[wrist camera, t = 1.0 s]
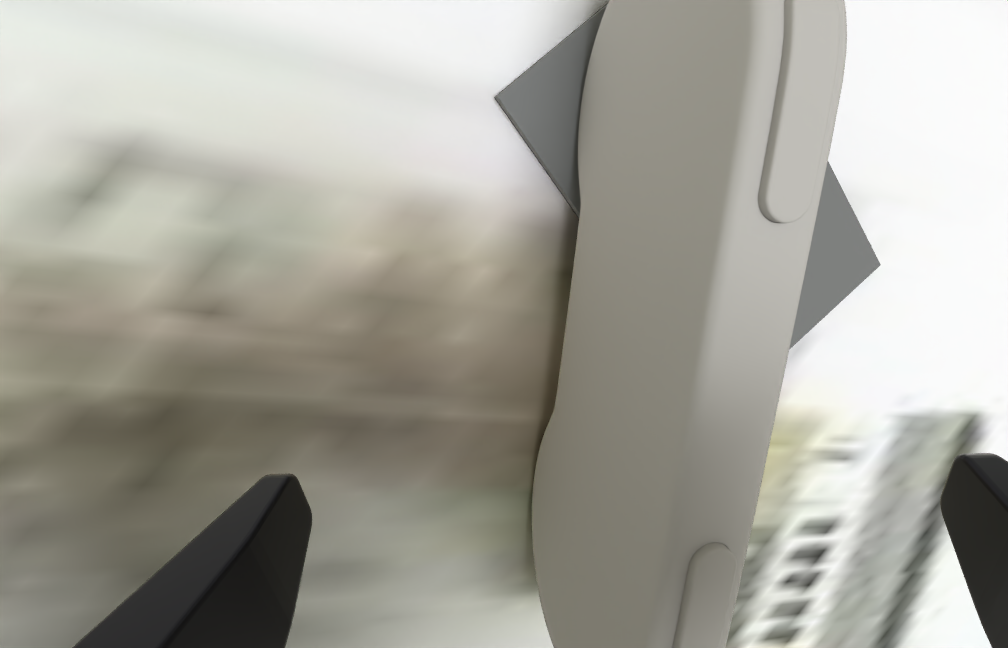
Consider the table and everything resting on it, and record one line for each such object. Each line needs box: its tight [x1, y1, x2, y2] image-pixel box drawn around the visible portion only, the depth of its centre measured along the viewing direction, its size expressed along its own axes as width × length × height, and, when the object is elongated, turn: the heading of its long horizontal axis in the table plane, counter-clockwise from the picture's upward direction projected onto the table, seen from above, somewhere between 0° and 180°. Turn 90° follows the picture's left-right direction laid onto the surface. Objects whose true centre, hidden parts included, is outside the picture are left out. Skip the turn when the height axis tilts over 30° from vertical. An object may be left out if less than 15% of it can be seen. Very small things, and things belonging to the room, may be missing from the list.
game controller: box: [532, 0, 847, 648], centre depth 17 cm, size 20×2×8 cm, turn 175°
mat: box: [495, 3, 880, 349], centre depth 21 cm, size 8×13×1 cm, turn 39°
